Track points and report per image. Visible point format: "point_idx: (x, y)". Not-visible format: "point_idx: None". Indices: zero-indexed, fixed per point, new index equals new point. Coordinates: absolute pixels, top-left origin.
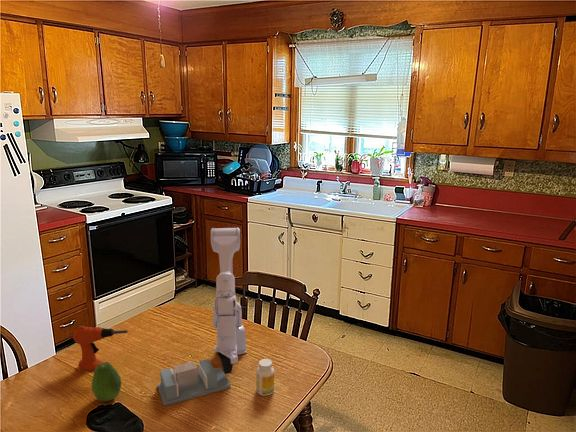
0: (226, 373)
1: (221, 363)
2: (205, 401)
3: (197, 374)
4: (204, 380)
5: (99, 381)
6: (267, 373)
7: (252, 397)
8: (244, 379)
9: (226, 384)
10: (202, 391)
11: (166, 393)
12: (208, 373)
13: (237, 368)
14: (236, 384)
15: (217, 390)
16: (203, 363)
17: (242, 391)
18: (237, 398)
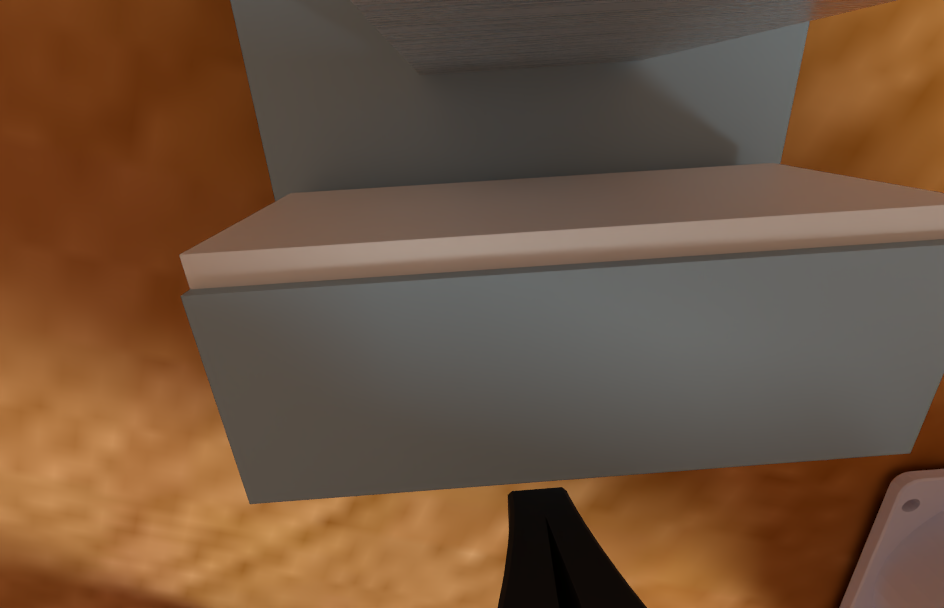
0: (508, 511)
1: (625, 592)
2: (121, 125)
3: (395, 46)
4: (373, 205)
5: None
6: None
7: (135, 578)
8: (436, 575)
9: None
10: (275, 121)
11: None
12: (320, 351)
13: (637, 560)
14: (381, 507)
15: None
16: (816, 322)
17: (248, 529)
18: (136, 473)
